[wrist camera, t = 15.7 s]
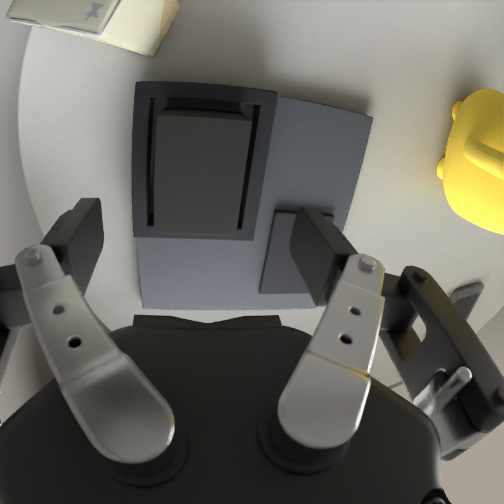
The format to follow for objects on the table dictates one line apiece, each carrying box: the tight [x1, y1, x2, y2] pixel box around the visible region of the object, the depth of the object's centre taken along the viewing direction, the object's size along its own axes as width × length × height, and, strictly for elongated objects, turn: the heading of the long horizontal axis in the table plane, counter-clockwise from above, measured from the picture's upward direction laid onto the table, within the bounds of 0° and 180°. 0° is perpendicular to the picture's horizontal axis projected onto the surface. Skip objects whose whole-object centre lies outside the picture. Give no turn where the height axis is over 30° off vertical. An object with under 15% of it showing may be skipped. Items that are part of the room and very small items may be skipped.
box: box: [6, 0, 181, 57], centre depth 10 cm, size 5×4×11 cm
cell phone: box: [450, 282, 484, 320], centre depth 39 cm, size 7×14×1 cm, turn 1°
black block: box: [154, 107, 252, 236], centre depth 18 cm, size 5×7×4 cm
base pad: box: [132, 81, 373, 310], centre depth 23 cm, size 17×19×3 cm
